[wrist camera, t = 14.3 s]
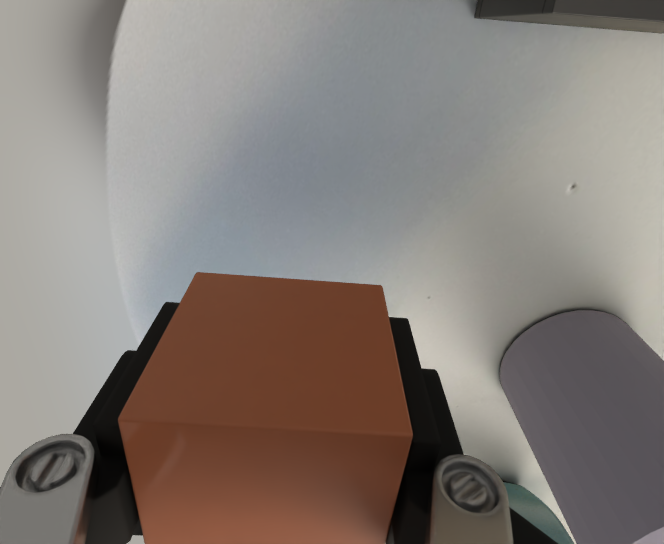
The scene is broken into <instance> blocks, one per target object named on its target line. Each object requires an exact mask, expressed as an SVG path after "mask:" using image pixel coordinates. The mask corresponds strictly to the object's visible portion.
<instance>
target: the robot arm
mask: <svg viewBox="0 0 664 544" xmlns="http://www.w3.org/2000/svg"><path fill="white" fill-rule="evenodd" d="M179 304H180V303H174V302H166V303H165V304H164V305H163V307H162V308H161V310H160V312H159V313H158V315H157V317H156V318H155V320H154V322H153V324H152V325H151V327H150V329H149V330H148V332H147V334H146V335H145V337H144V339H143V340H142V342H141V344H140V345H139V347H138V349H137V351H131V350H128V351H126V352H125V353H124V354H123V355H122V356H121V358H120V359H119V361H118V363H117V364H116V366H115V367H114V369H113V371H112V372H111V374H110V376H109V377H108V379H107V380H106V382H105V384H104V385H103V387H102V388H101V390H100V391H99V393H98V395H97V396H96V398H95V400H94V401H93V403H92V404H91V406H90V407H89V409H88V410H87V412H86V414H85V415H84V417H83V418H82V420H81V422H80V423H79V425H78V427H77V428H76V430H75V431H74V433H73V434H60V435H56V436H52V437H48V438H46V439H43V440H41V441H39V442H36V443H35V444H33V445H32V446H30V447H29V448H27V449H26V450H24V451H23V452H22V453H21V454H20V455H19V456H18V457H17V458H16V459H15V460H14V461H13V463H12V465H11V466H10V468H9V469H8V471H7V473H6V476H5V478H4V480H3V483H2V485H1V487H0V544H126V543H128V542H129V541H130V540H131V537H132V535H143V533H142V528H141V524H140V519H139V515H138V510H137V506H136V501H135V496H134V492H133V487H132V483H131V478H130V473H129V469H128V464H127V460H126V455H125V451H124V446H123V441H122V437H121V432H120V428H119V423H118V418H119V416H120V414H121V412H122V410H123V408H124V406H125V404H126V403H127V401H128V399H129V397H130V395H131V393H132V391H133V390H134V388H135V386H136V384H137V382H138V380H139V378H140V376H141V375H142V373H143V371H144V369H145V367H146V365H147V363H148V362H149V360H150V358H151V356H152V354H153V352H154V350H155V349H156V347H157V345H158V343H159V341H160V339H161V337H162V336H163V334H164V332H165V330H166V328H167V326H168V324H169V323H170V321H171V319H172V317H173V315H174V313H175V311H176V310H177V308H178V306H179ZM389 321H390V325H391V330H392V335H393V340H394V345H395V350H396V354H397V359H398V364H399V369H400V374H401V379H402V383H403V388H404V393H405V398H406V403H407V408H408V412H409V417H410V422H411V427H412V432H413V437H412V441H411V445H410V449H409V453H408V457H407V461H406V464H405V468H404V472H403V476H402V480H401V484H400V488H399V491H398V495H397V499H396V503H395V507H394V511H393V515H392V518H391V522H390V526H389V530H388V534H387V538H386V544H558V543H557V542H556V541H554V540H553V539H552V538H550V537H549V536H548V535H546V534H545V533H544V532H542V531H541V530H540V529H538V528H537V527H536V526H534V525H533V524H532V523H530V522H529V521H528V520H526V519H525V518H524V517H522V516H521V515H520V514H518V513H517V512H516V511H514V510H513V509H512V508H510V507H509V501H508V494H507V491H506V487H505V485H504V483H503V481H502V480H501V478H500V476H499V475H498V474H497V473H496V472H495V471H494V470H493V469H492V468H491V467H490V466H489V465H487V464H486V463H484V462H482V461H481V460H479V459H476V458H474V457H471V456H467V455H464V454H463V451H462V448H461V445H460V442H459V438H458V435H457V432H456V429H455V426H454V422H453V419H452V416H451V413H450V410H449V407H448V403H447V400H446V397H445V394H444V391H443V387H442V384H441V381H440V378H439V375H438V373H437V371H436V370H435V369H421V365H420V362H419V358H418V354H417V350H416V347H415V343H414V339H413V336H412V332H411V328H410V324H409V321H408V319H407V318H394V317H389Z"/></svg>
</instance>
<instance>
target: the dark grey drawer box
mask: <svg viewBox="0 0 664 544" xmlns="http://www.w3.org/2000/svg"><path fill="white" fill-rule="evenodd" d="M475 18H478V19H491V20H503V21H515V22H528V23H540V24H553V25H565V26H578V27H590V28H603V29H615V30H627V31H640V32H652V33H664V0H478V3H477V8H476V13H475Z"/></svg>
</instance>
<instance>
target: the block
mask: <svg viewBox="0 0 664 544" xmlns="http://www.w3.org/2000/svg"><path fill="white" fill-rule="evenodd" d="M118 423H119V428H120V432H121V437H122V441H123V446H124V451H125V455H126V460H127V464H128V469H129V473H130V478H131V483H132V487H133V492H134V496H135V501H136V506H137V510H138V515H139V519H140V524H141V528H142V533H143V537H144V542H145V544H385V542H386V538H387V534H388V530H389V526H390V522H391V518H392V515H393V511H394V507H395V503H396V499H397V495H398V491H399V488H400V484H401V480H402V476H403V472H404V468H405V464H406V461H407V457H408V453H409V449H410V445H411V441H412V437H413V432H412V427H411V422H410V417H409V412H408V408H407V403H406V398H405V393H404V388H403V383H402V379H401V374H400V369H399V364H398V359H397V354H396V350H395V345H394V340H393V335H392V330H391V325H390V321H389V316H388V311H387V306H386V301H385V296H384V292H383V287H382V286H381V285H370V284H356V283H342V282H328V281H314V280H300V279H286V278H272V277H258V276H244V275H230V274H216V273H202V272H197V273H196V274H195V276H194V278H193V280H192V282H191V283H190V285H189V287H188V289H187V291H186V293H185V295H184V296H183V298H182V300H181V302H180V304H179V306H178V308H177V310H176V311H175V313H174V315H173V317H172V319H171V321H170V323H169V324H168V326H167V328H166V330H165V332H164V334H163V336H162V337H161V339H160V341H159V343H158V345H157V347H156V349H155V350H154V352H153V354H152V356H151V358H150V360H149V362H148V363H147V365H146V367H145V369H144V371H143V373H142V375H141V376H140V378H139V380H138V382H137V384H136V386H135V388H134V390H133V391H132V393H131V395H130V397H129V399H128V401H127V403H126V404H125V406H124V408H123V410H122V412H121V414H120V416H119V418H118Z"/></svg>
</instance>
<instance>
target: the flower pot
mask: <svg viewBox="0 0 664 544" xmlns="http://www.w3.org/2000/svg"><path fill="white" fill-rule="evenodd" d="M503 483H504V485H505V487H506V491H507V494H508V501H509V507H510V508H512V509H513V510H514V511H516V512H517V513H518V514H520V515H521V516H522V517H524V518H525V519H526V520H528V521H529V522H530V523H532V524H533V525H534V526H536V527H537V528H538V529H540V530H541V531H542V532H544V533H545V534H546V535H548V536H549V537H550V538H552V539H553V540H554V541H556V542H557V543H558V544H574V542H573V541H572V539H571V538H570V536H569V534H568V533H567V531H566V530H565V528H564V526H563V525H562V523H561V522H560V521H559V519H558V518H557V517H556V515H555V514H554V513H553V512H552V511H551V510H550V509H549V508H548V507H547V506H546V505H545V504H544V503H543V502H542V501H541V500H540V499H539V498H538V497H536V496H535V495H534V494H532V493H531V492H530V491H528V490H527V489H525V488H524V487H522V486H520V485H517V484H511V483H505V482H503Z"/></svg>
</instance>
